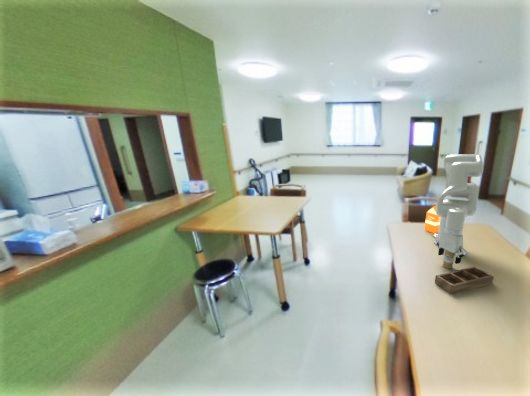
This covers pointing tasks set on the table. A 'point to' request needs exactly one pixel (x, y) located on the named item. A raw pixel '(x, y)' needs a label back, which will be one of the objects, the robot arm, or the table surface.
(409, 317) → the table surface
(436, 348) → the table surface
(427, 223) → the orange juice
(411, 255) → the table surface
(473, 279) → the rack
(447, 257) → the sprinkles bottle
